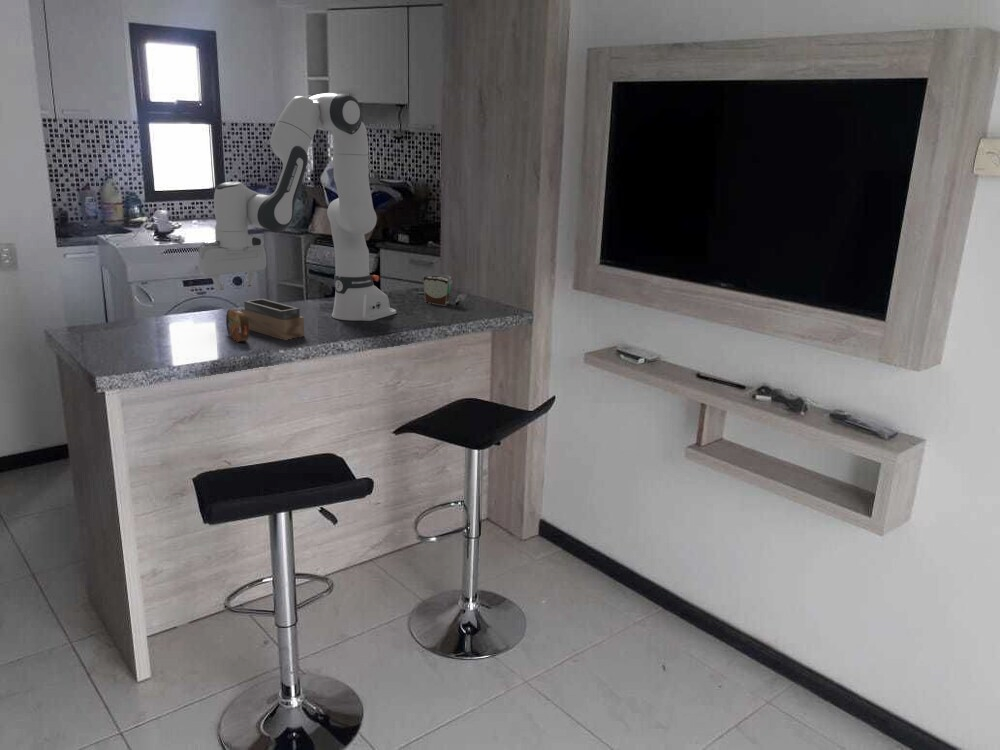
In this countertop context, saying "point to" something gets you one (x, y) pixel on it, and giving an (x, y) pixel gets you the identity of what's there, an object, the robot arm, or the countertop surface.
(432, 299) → the food container
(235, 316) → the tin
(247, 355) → the countertop surface
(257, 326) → the open rectangular box
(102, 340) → the countertop surface
